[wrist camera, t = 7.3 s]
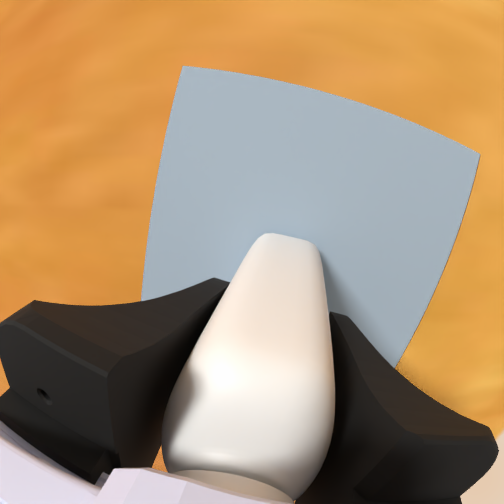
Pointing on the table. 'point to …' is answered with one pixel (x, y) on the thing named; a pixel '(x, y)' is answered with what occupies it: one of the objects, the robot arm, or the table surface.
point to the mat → (307, 196)
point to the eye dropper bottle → (258, 380)
